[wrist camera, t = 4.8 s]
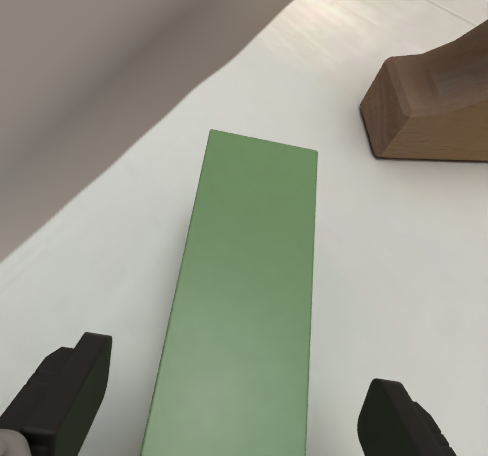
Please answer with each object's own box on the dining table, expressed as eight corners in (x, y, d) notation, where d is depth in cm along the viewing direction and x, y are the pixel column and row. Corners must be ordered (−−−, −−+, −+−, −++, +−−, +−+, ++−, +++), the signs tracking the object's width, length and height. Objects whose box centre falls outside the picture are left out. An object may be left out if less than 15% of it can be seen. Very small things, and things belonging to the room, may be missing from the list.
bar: (147, 476, 18) (127, 511, 11) (200, 214, 24) (210, 128, 17) (253, 489, 18) (303, 531, 11) (277, 228, 25) (318, 150, 18)
